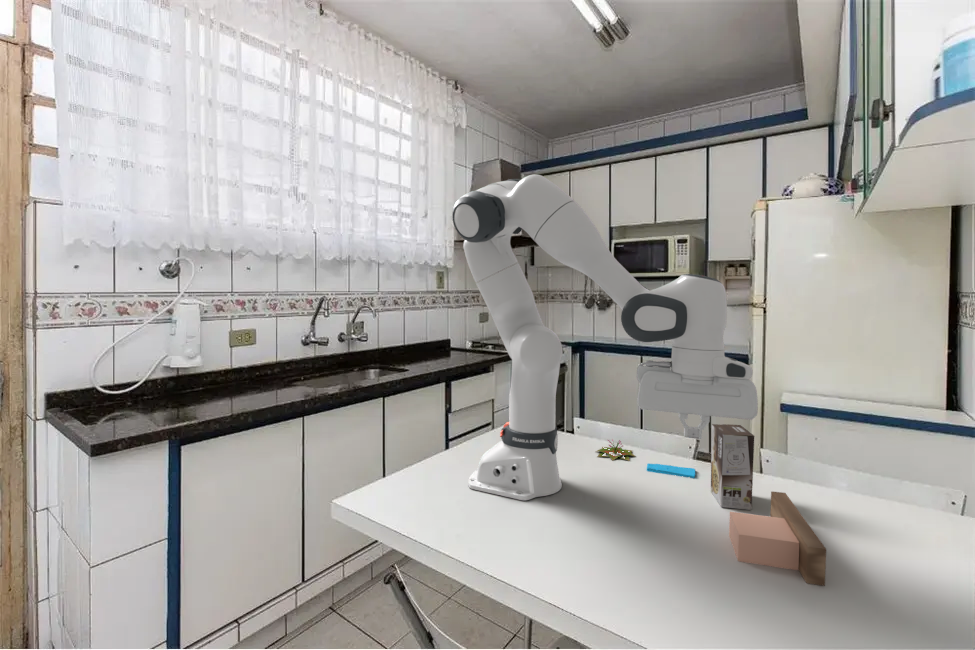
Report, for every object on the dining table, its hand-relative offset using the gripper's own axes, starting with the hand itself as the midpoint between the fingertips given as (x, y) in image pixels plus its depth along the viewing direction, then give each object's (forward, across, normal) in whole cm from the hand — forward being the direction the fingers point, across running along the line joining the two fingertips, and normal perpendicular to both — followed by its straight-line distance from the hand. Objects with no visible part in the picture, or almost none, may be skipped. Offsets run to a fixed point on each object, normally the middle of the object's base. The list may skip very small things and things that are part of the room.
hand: (692, 437), depth 88 cm
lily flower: (+20, -15, +45) cm, 51 cm away
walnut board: (+19, +18, +2) cm, 26 cm away
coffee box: (+19, +11, +21) cm, 30 cm away
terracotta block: (+19, +12, -1) cm, 23 cm away
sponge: (+20, 0, +36) cm, 41 cm away
